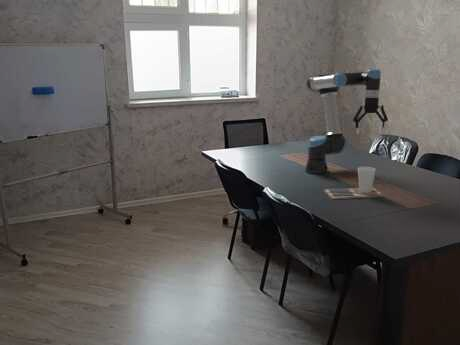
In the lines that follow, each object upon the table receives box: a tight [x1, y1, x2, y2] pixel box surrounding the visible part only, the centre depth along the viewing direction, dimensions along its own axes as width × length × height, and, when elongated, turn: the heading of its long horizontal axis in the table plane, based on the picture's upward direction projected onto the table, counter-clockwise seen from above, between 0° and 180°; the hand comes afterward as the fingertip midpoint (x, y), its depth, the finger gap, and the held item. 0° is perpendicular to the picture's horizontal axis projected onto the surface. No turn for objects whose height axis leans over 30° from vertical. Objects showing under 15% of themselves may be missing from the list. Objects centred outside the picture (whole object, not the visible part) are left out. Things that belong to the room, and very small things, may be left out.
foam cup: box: [357, 166, 376, 193], centre depth 243 cm, size 10×9×13 cm
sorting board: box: [323, 186, 384, 200], centre depth 245 cm, size 15×29×1 cm, turn 94°
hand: (369, 133), depth 255 cm, fingers open, 13 cm apart
